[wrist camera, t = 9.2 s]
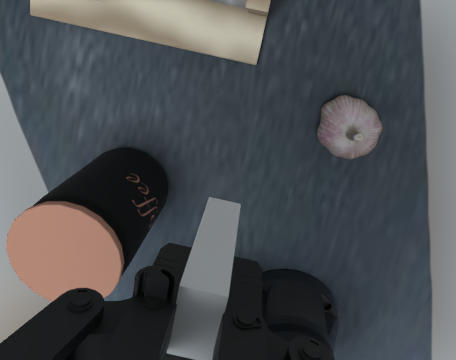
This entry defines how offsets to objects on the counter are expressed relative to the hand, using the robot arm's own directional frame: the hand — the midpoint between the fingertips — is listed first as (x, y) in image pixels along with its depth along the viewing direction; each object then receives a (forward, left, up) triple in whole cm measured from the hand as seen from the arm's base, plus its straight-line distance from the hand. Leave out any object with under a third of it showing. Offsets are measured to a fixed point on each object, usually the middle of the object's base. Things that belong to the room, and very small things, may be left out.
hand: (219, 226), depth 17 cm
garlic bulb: (+1, -12, -30) cm, 32 cm away
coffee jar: (-13, +13, -30) cm, 35 cm away
